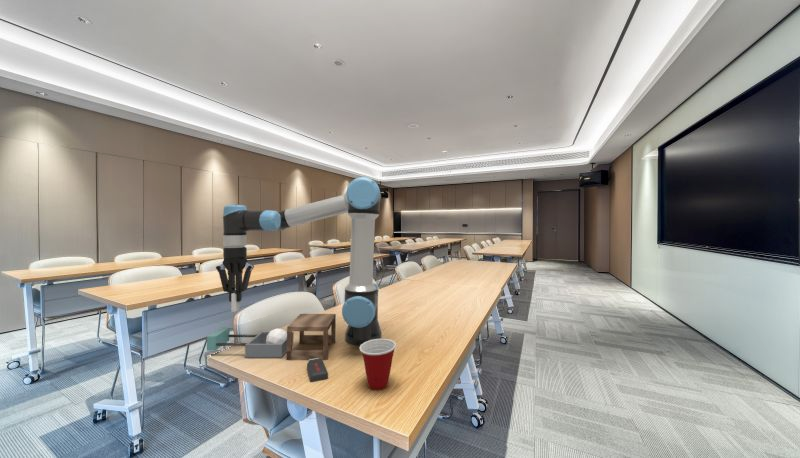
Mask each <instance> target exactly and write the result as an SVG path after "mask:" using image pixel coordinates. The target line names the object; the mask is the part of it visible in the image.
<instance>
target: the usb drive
mask: <svg viewBox="0 0 800 458" xmlns="http://www.w3.org/2000/svg"><path fill="white" fill-rule="evenodd" d="M306 364H307V365H306V370H307V374H308V378H309V382H310V383H315V382H320V381H325V380H329V372H328V370H327V368H326V365H325V362H324V360H321V359H320V358H315V359H309V360H308V361H307V363H306Z"/></svg>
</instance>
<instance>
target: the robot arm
mask: <svg viewBox="0 0 800 458" xmlns="http://www.w3.org/2000/svg"><path fill="white" fill-rule="evenodd" d="M381 201H382V194H381V190H380V186H379V185H378V184H377V182H376V181H374V180H373V179H372V178H369V177H366V176H359V177H355V179H353V180H351V181H350V183H348V185H347V188H346V191H345V192H344V194H342V195H338V196H334V197H329V198H326V199H325V198H324V199H322V200H318V201H315V202H314V201H313V202H310V203H306V204H302V205H299V206H295V207H291V208H287V209H284V210H279V211H277V210H270V209H266V210H248V209H247V206H246V205H242V204H226V205H225V206H224V207H223V211H222V212H223V215H222V219H223V220H222V221H223V222H222V223H223V225H222V226H223V235H222V236H223V238H222V241H223V242H222V244H223V245H222V246H223V248H222V249H223V261H222V262H221V264H219V265H216V266H215V269H216V270H217V272H218V275H219V279H220V284H221V286H222V291H223V292H225V293H228V302H230V303H231V305H230V306H231V307H230V308H231V310H230V311H231V312H238V311H239V310H240V302H241V301H242V297H243V295H242V293H243V292H245V291H248V287H249V282H250V279H251V274H252V271H253V270H254V268H255V265H254V264H251V263H248V262H249V261H248V260H247V255H248V254H247V253H248V252H247V249H248V248H247V247H246V246H247V238H248V237H247V236H248V235H247V231H248V232H249V231H250V232H251V231H254V232H255V231H256V232H257V231H258V232H261V231H262V232H265V231H266V232H272V231H273V232H274V231H276V232H280V231H284V230H286V229H288V228H289V229H290V228H293V227H296V226H300V225H301V226H302V225H305V224H308V223H313V222H316V221H321V220H324V219H328V218H331V217H335V216H339V215H344V214H347V215H348V216H349V218H351V227H350V230H351V231H350V234H351V235H350V253H349V254H350V255H349V256H350V257H349V258H350V259H349V280H348V284H347V285H346V286H345V288H344V303H343V305H342V308H341V316H342V318H343V321H344V322H345V323H346V324H347V327H346V331H345V335H344V337H345V338H344V339H345V341H346V342H347V343H349V344H351V345H355V346H361V344H363V343H364V342H367V341H369V340H374V339H382V336H383V335H382V329H381V326H380V323H379V320H378V319H379V318H378V317H379V315H378V314H379V312H378V311H379V309H378V308H379V291H380V290H379V285H378V284H376V283H373V280H374V279H373V277H374V274H373V273H374V256H375V255H374V254H375V251H374V250H375V227H376V226H375V224H376V219H377V218H378V217H379V216H380V206H381V205H380V203H381ZM244 269H245V271H244ZM243 272H244V275H243Z"/></svg>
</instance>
